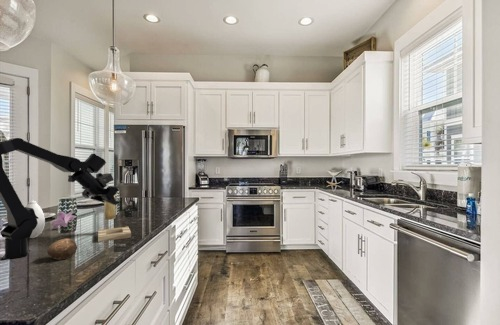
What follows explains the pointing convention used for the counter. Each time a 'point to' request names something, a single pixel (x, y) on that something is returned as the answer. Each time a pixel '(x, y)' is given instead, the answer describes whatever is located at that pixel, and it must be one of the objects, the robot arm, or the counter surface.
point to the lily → (62, 219)
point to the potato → (62, 249)
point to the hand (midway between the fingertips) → (112, 203)
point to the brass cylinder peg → (109, 210)
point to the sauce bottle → (40, 219)
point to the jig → (114, 234)
